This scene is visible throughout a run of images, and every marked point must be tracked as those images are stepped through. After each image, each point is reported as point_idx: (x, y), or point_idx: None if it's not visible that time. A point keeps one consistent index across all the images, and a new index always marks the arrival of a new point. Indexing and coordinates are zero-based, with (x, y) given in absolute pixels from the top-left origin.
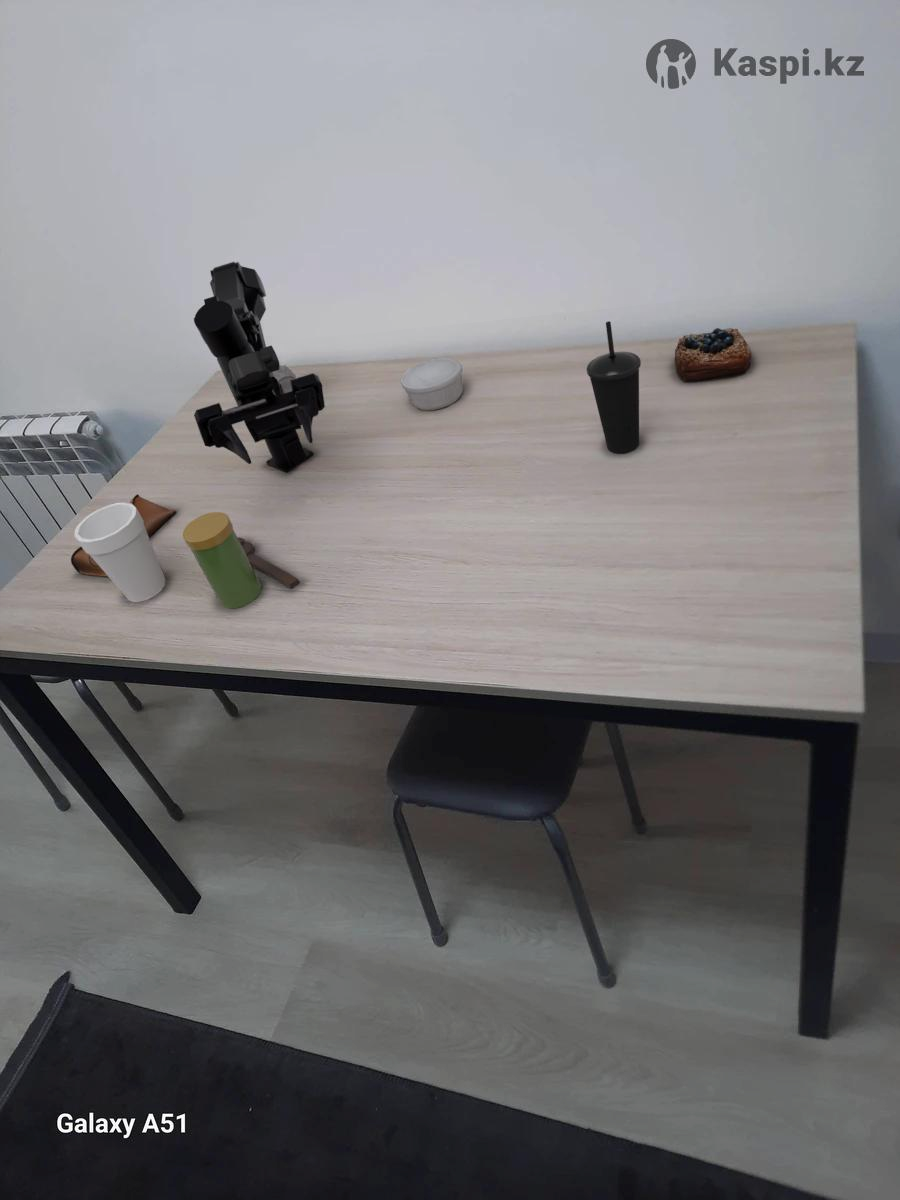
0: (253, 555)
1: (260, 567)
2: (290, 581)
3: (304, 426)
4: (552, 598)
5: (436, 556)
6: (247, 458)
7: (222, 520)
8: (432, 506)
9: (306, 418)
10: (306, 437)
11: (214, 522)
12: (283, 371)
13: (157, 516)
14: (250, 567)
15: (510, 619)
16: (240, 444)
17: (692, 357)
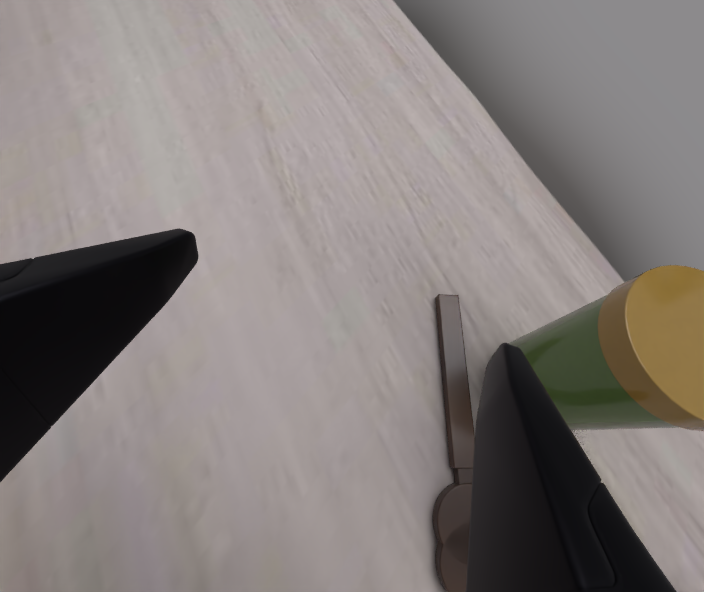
0: (458, 459)
1: (469, 401)
2: (451, 301)
3: (126, 256)
4: (270, 8)
5: (265, 145)
6: (518, 350)
7: (647, 309)
8: (144, 229)
9: (51, 262)
10: (161, 306)
11: (674, 328)
12: None
13: None
14: (524, 340)
15: (321, 26)
16: (545, 428)
17: None
